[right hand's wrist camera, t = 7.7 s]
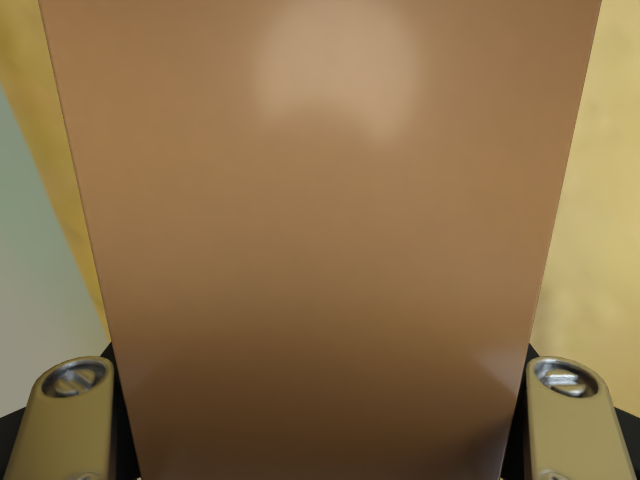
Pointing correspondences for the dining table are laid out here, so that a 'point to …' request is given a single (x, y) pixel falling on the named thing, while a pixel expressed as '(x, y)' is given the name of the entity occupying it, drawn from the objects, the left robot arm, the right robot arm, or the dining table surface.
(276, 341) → the post
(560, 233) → the dining table surface
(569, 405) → the right robot arm
